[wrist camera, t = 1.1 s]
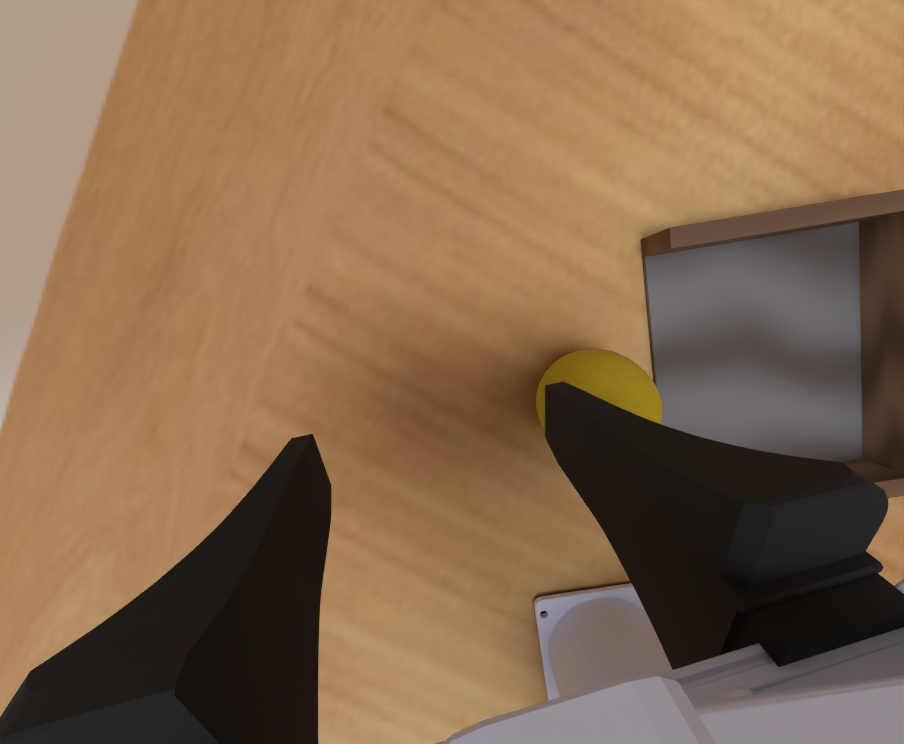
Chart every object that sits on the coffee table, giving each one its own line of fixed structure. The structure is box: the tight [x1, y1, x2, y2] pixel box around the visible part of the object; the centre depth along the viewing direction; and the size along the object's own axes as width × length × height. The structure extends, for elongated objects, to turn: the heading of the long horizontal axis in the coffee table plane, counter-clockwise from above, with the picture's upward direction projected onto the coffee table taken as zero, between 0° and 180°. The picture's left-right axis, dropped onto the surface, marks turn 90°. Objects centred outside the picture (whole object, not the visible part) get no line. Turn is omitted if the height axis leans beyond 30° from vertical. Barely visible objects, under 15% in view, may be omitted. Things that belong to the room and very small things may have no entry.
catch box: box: [641, 190, 904, 498], centre depth 22 cm, size 16×13×3 cm
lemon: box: [536, 349, 663, 431], centre depth 20 cm, size 6×6×8 cm
